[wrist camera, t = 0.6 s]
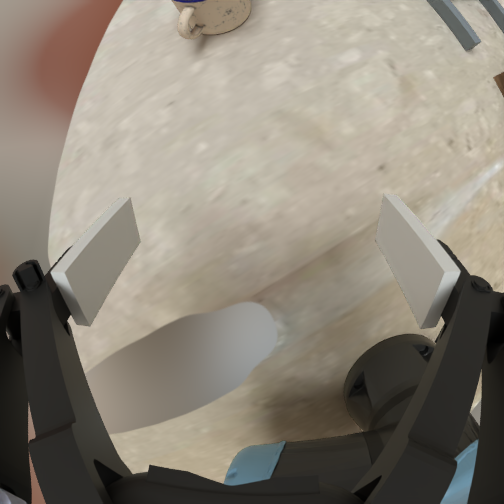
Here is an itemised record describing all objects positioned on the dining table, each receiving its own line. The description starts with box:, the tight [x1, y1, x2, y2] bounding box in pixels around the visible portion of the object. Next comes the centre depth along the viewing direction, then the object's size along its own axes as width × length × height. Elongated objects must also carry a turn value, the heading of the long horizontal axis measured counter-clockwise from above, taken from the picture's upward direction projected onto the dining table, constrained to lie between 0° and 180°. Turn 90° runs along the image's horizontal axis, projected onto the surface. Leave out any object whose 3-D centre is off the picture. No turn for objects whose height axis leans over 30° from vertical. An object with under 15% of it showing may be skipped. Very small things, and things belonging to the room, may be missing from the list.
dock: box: [427, 0, 504, 50], centre depth 21 cm, size 11×15×3 cm
